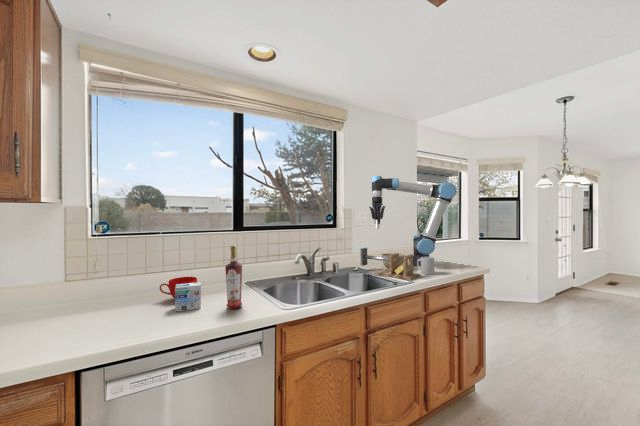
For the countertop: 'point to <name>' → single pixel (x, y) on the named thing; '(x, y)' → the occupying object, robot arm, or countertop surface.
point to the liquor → (233, 280)
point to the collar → (399, 270)
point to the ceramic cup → (177, 281)
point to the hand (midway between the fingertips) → (377, 228)
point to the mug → (426, 265)
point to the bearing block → (393, 266)
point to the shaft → (370, 257)
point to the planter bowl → (394, 257)
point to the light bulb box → (187, 296)
